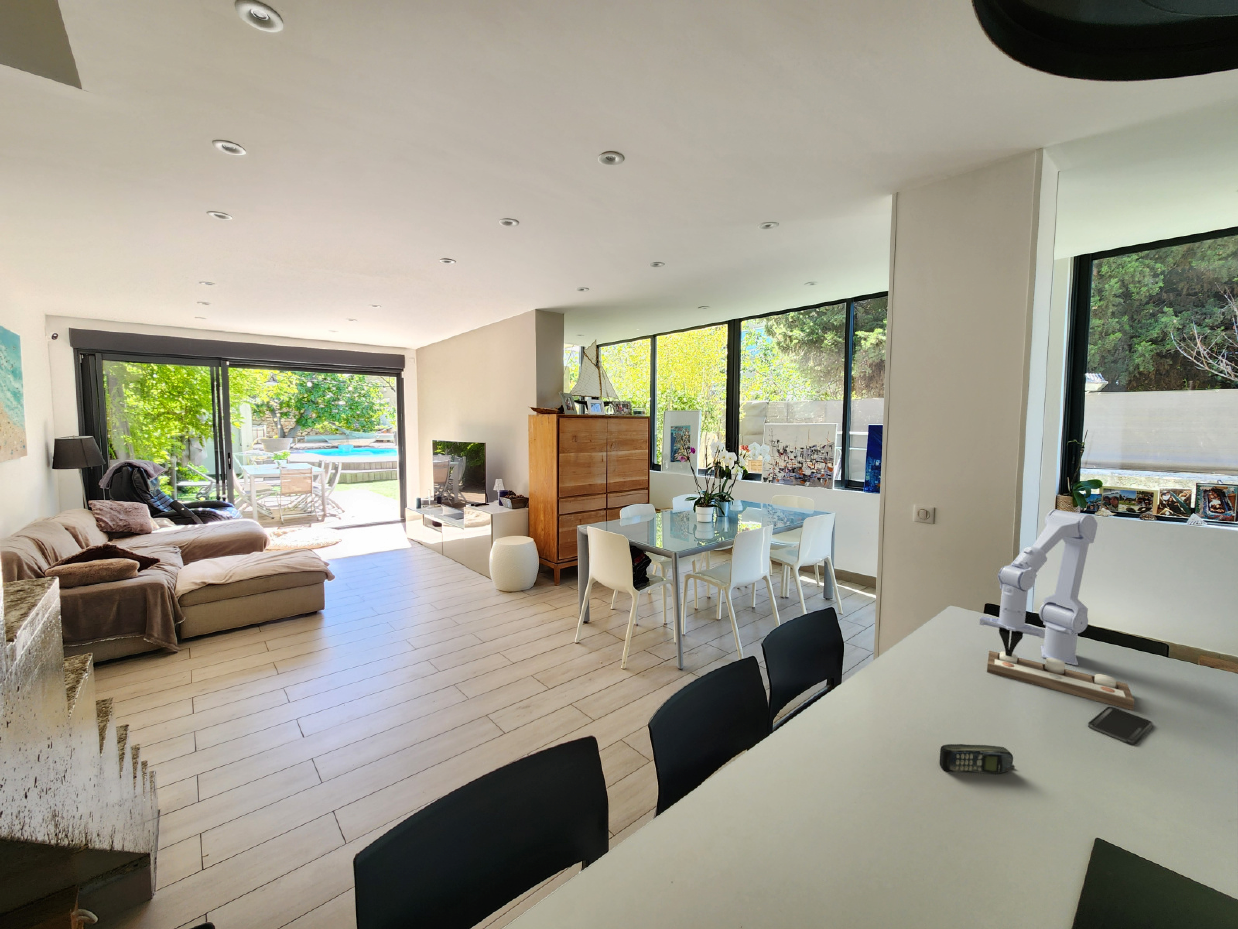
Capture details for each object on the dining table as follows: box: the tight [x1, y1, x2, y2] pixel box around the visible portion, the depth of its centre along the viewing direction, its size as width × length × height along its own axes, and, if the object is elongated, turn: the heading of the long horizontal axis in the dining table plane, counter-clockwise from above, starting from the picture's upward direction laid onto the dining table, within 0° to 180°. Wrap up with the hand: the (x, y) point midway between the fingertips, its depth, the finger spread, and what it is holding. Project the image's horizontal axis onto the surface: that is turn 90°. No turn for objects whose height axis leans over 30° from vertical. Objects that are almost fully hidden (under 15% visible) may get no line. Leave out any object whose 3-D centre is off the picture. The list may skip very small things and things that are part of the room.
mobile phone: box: [939, 743, 1016, 775], centre depth 102 cm, size 5×3×15 cm
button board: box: [986, 650, 1135, 711], centre depth 136 cm, size 10×29×2 cm, turn 52°
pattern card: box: [994, 659, 1125, 698], centre depth 134 cm, size 4×26×1 cm, turn 52°
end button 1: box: [1094, 673, 1117, 689], centre depth 131 cm, size 4×4×2 cm
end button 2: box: [999, 650, 1019, 664], centre depth 144 cm, size 4×4×2 cm
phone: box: [1087, 706, 1154, 746], centre depth 117 cm, size 8×1×15 cm
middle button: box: [1044, 658, 1066, 674], centre depth 137 cm, size 4×4×2 cm
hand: (1008, 655), depth 143 cm, fingers closed, pressing on end button 2
